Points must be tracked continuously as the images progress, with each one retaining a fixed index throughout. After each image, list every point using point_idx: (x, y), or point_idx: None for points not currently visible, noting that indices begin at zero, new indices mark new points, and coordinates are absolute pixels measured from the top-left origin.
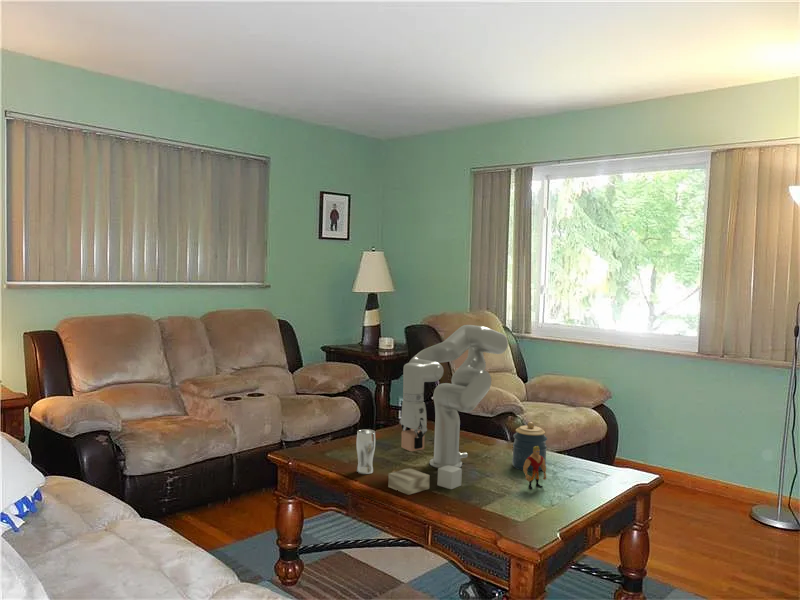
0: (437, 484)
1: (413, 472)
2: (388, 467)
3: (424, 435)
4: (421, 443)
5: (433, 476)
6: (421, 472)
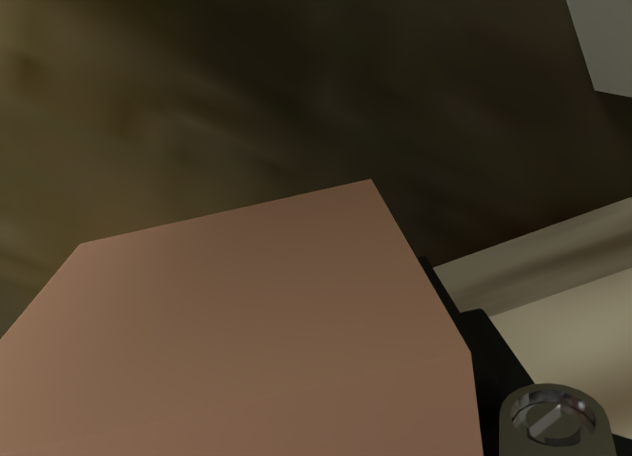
0: (600, 90)
1: (570, 352)
2: (3, 314)
3: (437, 299)
4: (496, 336)
5: (363, 8)
6: (607, 282)
